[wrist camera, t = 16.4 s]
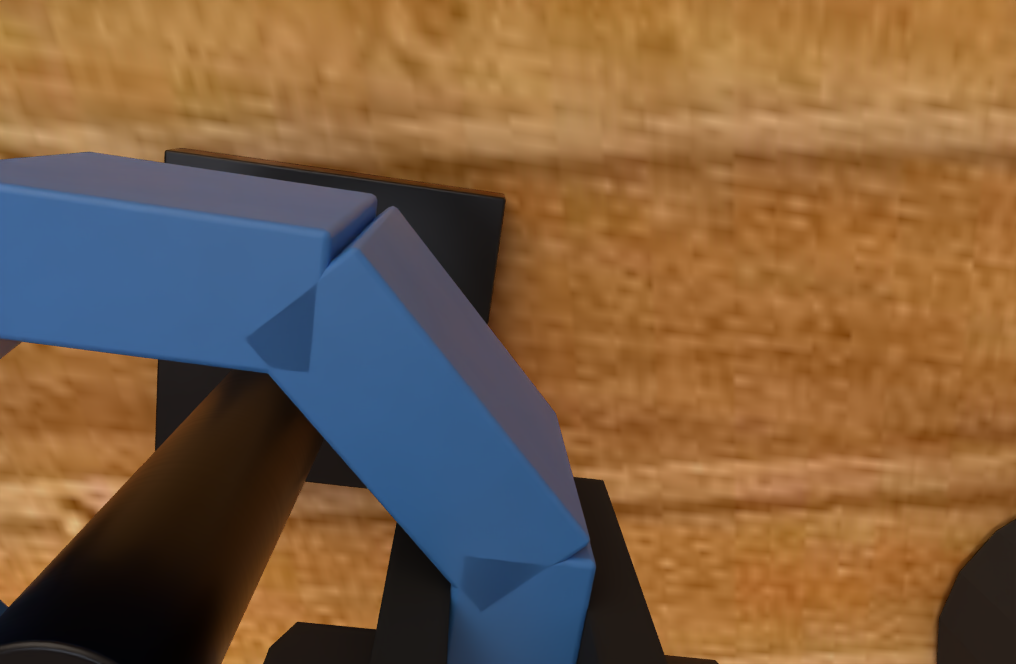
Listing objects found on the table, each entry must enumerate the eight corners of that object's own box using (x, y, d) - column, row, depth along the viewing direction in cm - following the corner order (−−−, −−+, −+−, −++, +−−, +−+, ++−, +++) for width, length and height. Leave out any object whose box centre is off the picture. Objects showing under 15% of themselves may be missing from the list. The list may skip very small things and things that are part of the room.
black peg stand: (504, 193, 23) (570, 375, 7) (463, 482, 25) (444, 1099, 9) (179, 147, 22) (-539, 236, 6) (168, 448, 24) (-379, 1051, 9)
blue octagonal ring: (598, 226, 12) (656, 278, 8) (493, 808, 15) (499, 1053, 11) (-157, 114, 11) (-489, 112, 7) (-123, 751, 14) (-352, 995, 10)
